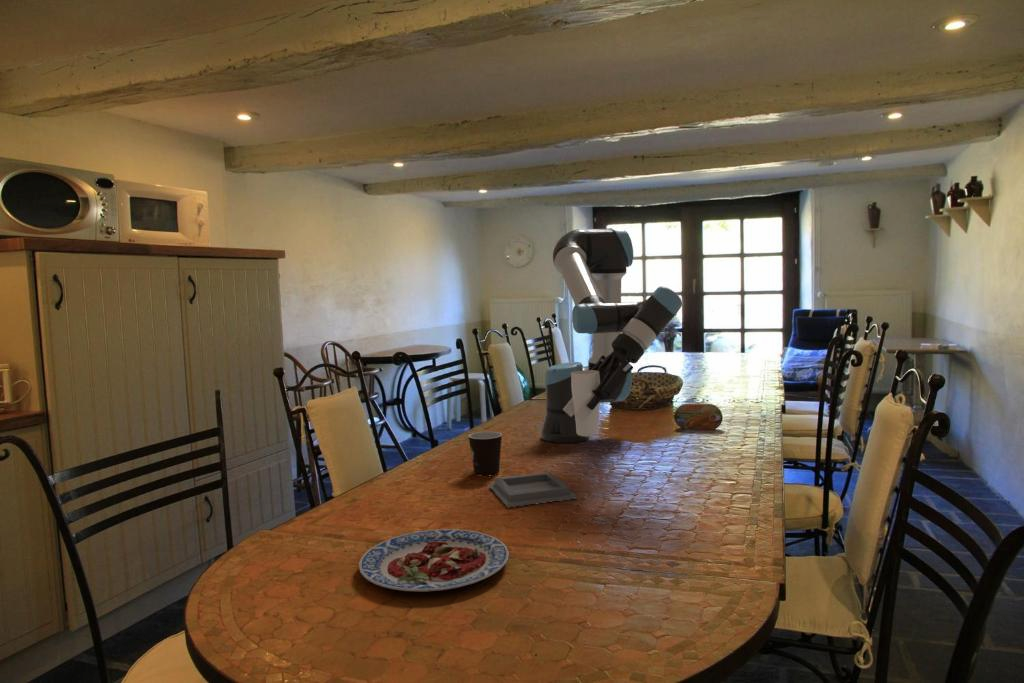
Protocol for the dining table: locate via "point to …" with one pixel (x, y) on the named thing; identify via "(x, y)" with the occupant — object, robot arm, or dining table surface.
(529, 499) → the plastic holder
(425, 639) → the dining table surface
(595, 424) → the drinking glass
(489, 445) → the coffee mug
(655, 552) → the dining table surface
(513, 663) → the dining table surface
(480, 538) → the ceramic plate
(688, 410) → the tin
